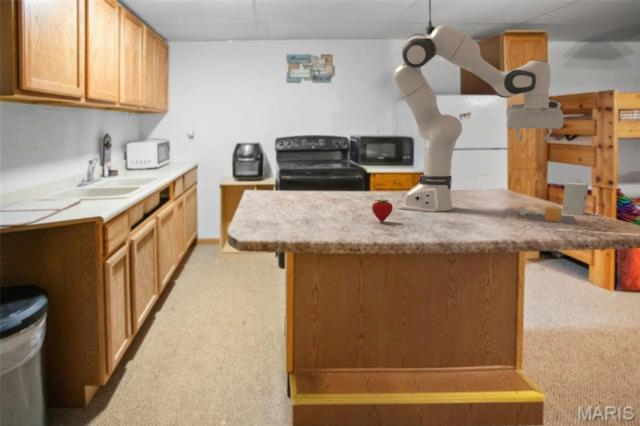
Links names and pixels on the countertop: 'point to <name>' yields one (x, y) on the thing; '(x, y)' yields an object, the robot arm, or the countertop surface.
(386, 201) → the strawberry
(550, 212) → the orange block
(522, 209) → the untagged breaker
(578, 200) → the supplement box
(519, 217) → the breaker panel
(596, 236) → the countertop surface
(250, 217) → the countertop surface
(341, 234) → the countertop surface
